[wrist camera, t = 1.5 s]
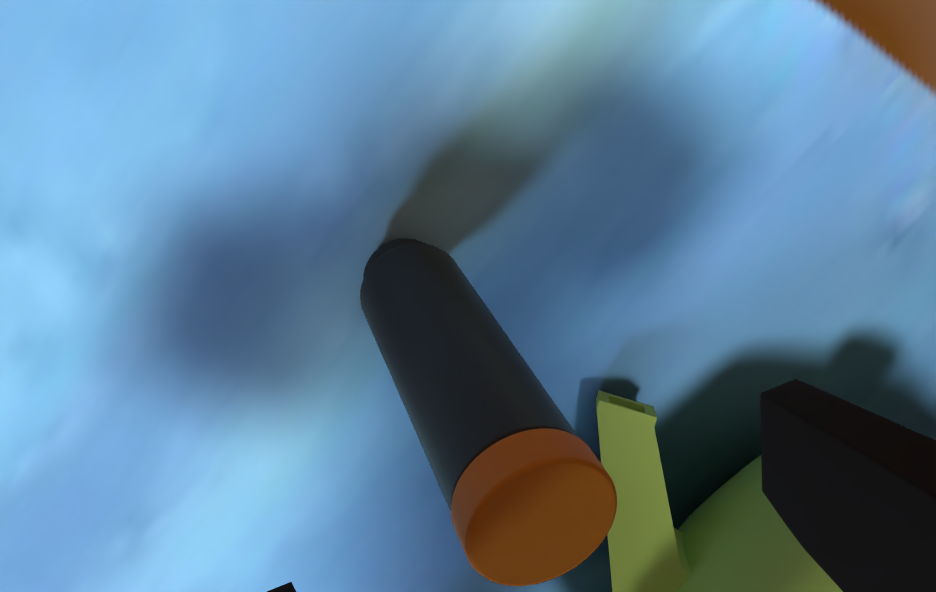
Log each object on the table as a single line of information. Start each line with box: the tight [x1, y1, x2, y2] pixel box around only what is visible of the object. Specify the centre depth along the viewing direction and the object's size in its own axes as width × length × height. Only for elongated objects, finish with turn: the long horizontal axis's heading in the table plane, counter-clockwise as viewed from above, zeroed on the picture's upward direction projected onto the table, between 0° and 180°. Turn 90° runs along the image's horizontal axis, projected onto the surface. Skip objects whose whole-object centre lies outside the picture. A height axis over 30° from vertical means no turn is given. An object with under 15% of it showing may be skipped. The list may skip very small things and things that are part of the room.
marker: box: [360, 238, 617, 586], centre depth 16 cm, size 2×2×9 cm
